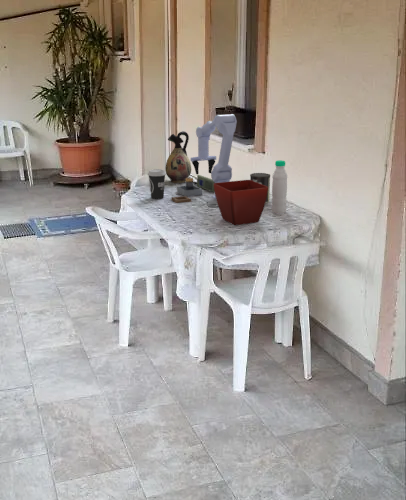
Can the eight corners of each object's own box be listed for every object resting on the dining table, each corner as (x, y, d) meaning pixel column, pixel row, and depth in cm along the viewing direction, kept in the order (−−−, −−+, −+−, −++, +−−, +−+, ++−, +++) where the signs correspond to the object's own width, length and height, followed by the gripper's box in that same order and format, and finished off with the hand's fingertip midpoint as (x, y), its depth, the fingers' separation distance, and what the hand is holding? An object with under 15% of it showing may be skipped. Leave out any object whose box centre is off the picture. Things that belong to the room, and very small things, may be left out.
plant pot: (230, 228, 277) (230, 191, 272) (212, 218, 293) (212, 182, 288) (268, 223, 284) (269, 187, 279) (249, 214, 301) (249, 179, 296)
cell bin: (202, 195, 339) (202, 189, 338) (184, 197, 336) (184, 190, 335) (194, 191, 350) (193, 185, 349) (177, 192, 346) (177, 186, 345)
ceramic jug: (167, 184, 367) (165, 133, 358) (164, 179, 382) (163, 130, 372) (195, 183, 369) (195, 132, 360) (192, 178, 384) (191, 129, 375)
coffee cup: (155, 201, 327) (154, 172, 322) (144, 198, 334) (143, 170, 329) (170, 198, 333) (169, 170, 328) (159, 195, 340) (158, 168, 335)
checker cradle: (192, 202, 325) (192, 199, 324) (176, 203, 321) (176, 200, 321) (186, 198, 333) (186, 195, 332) (170, 200, 329) (170, 197, 329)
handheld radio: (212, 193, 347) (191, 185, 367) (217, 192, 348) (196, 184, 369) (213, 181, 345) (191, 173, 365) (218, 180, 346) (196, 173, 367)
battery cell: (194, 193, 341) (194, 177, 339) (187, 194, 340) (186, 178, 338) (192, 191, 345) (191, 176, 342) (184, 192, 344) (184, 176, 341)
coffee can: (262, 204, 318) (263, 177, 314) (245, 202, 324) (246, 175, 320) (273, 201, 326) (274, 174, 322) (256, 198, 332) (257, 172, 328)
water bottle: (268, 211, 305) (270, 160, 298) (281, 210, 308) (283, 159, 300) (276, 214, 299) (277, 162, 291) (288, 213, 302) (290, 161, 294)
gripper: (212, 147, 349) (212, 171, 353) (188, 148, 344) (188, 173, 348) (217, 148, 343) (217, 173, 347) (193, 150, 338) (193, 175, 342)
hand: (203, 173), depth 347 cm, fingers open, 7 cm apart
